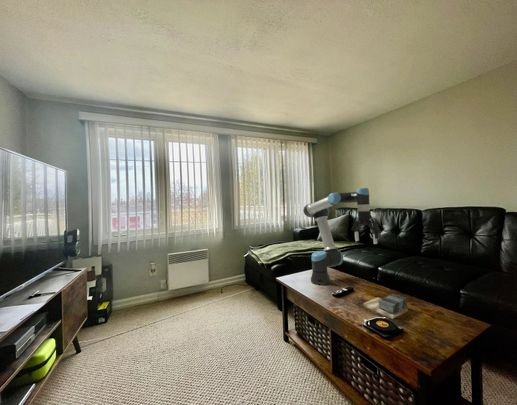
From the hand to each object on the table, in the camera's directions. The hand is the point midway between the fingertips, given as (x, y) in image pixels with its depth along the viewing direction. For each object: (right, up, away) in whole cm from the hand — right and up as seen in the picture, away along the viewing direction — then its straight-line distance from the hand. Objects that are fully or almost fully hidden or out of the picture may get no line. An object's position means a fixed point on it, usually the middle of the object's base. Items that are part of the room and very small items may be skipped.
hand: (365, 242), depth 139 cm
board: (+1, -34, -20) cm, 40 cm away
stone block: (+3, -33, -22) cm, 40 cm away
